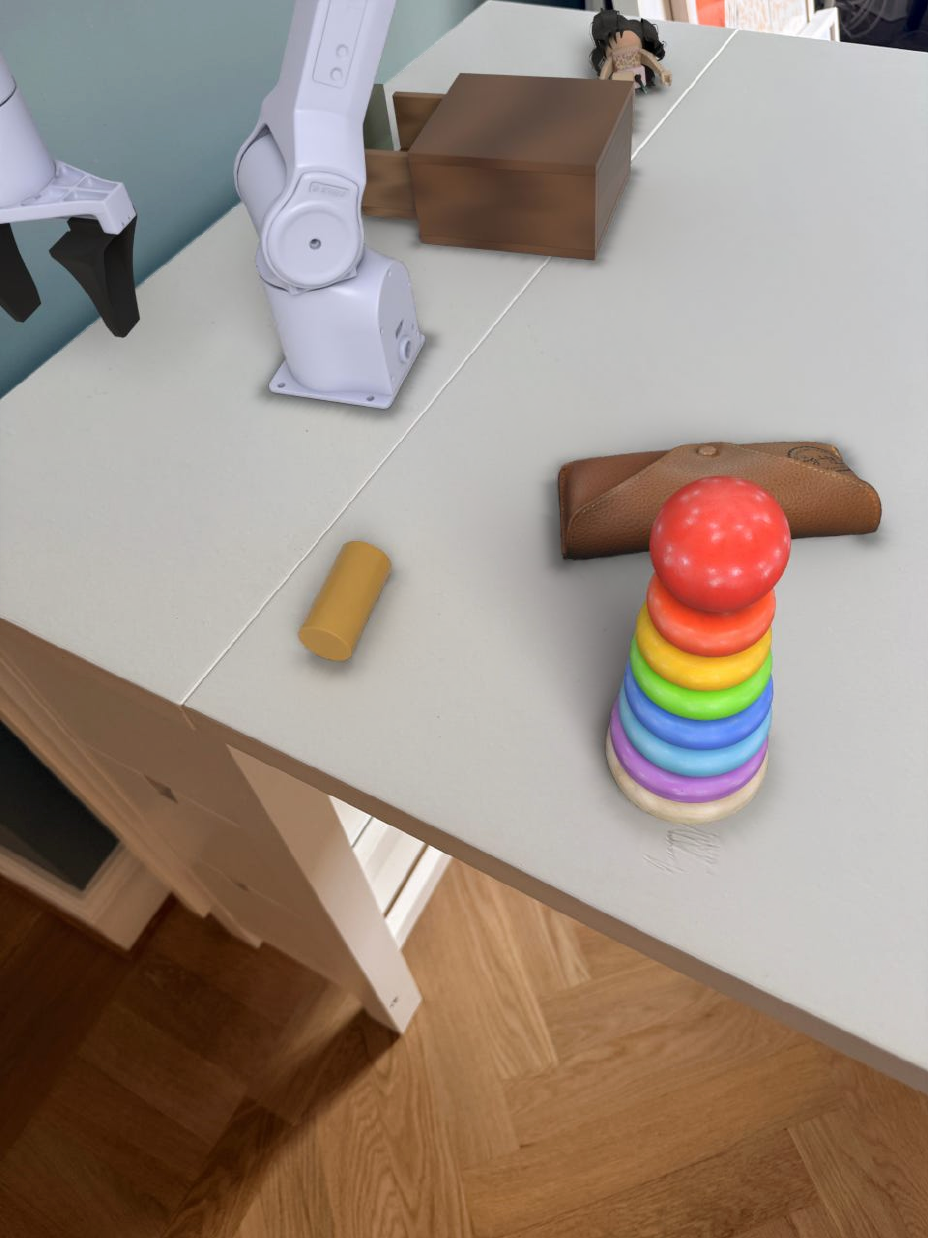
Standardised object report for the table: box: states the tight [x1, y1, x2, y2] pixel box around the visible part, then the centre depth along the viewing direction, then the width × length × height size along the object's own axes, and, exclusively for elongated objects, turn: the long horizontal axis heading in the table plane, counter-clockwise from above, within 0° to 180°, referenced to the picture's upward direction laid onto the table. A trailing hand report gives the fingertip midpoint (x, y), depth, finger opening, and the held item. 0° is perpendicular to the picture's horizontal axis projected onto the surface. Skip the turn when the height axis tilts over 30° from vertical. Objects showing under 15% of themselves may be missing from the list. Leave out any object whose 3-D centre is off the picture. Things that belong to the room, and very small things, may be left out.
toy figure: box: [588, 7, 673, 130], centre depth 85 cm, size 7×6×15 cm
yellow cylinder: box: [297, 540, 393, 662], centre depth 54 cm, size 3×6×3 cm, turn 162°
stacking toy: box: [605, 476, 792, 825], centre depth 40 cm, size 8×8×19 cm
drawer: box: [361, 83, 446, 221], centre depth 78 cm, size 18×11×6 cm, turn 71°
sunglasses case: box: [557, 441, 883, 561], centre depth 55 cm, size 18×7×7 cm
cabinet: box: [407, 72, 635, 261], centre depth 75 cm, size 15×13×8 cm
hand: (77, 319), depth 59 cm, fingers open, 7 cm apart
